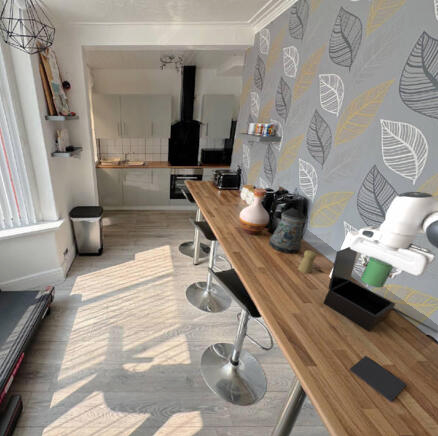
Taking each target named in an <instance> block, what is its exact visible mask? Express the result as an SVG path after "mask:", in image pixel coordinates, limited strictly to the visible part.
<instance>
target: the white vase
mask: <svg viewBox="0 0 438 436" xmlns="http://www.w3.org/2000/svg"><path fill="white" fill-rule="evenodd" d="M266 194H267V189H265V188H262V187H256V188H254V193H253V196H254V197H253V198H254V200H253V203H250V204H249V205H248V206H246V207H244V208H243V209H242V210H241V211H240V213H239V224H240V227H241V228H242V230H243V231H244V233H246V234H248V235H252V236H253V235H257V234H259V233H261V232H262V231H263V230H264V229H265V228H266V227H267V225H268V224H269V221H270V215H269V212H268V211H267V210H266V209H265V208H264V206H263V205H262V202H263V200H264V198H265V197H266Z"/></svg>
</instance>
